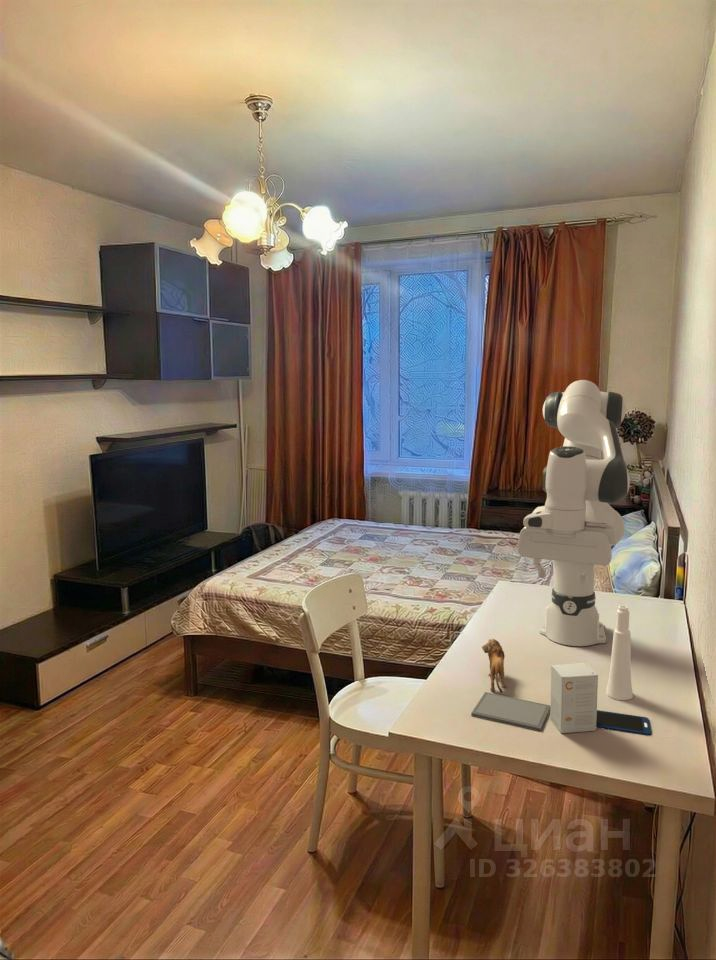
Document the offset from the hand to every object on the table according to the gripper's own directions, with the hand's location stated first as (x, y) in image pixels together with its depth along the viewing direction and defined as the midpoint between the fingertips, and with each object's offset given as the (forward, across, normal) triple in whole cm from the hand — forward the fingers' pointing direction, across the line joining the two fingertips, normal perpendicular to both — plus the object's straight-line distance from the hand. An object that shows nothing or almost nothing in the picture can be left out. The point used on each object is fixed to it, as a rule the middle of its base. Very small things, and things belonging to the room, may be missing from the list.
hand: (562, 579), depth 148 cm
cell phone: (+31, -13, +2) cm, 34 cm away
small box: (+31, -4, +7) cm, 32 cm away
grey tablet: (+30, +9, +7) cm, 33 cm away
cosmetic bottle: (+30, -12, -12) cm, 35 cm away
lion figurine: (+30, +17, -6) cm, 35 cm away
